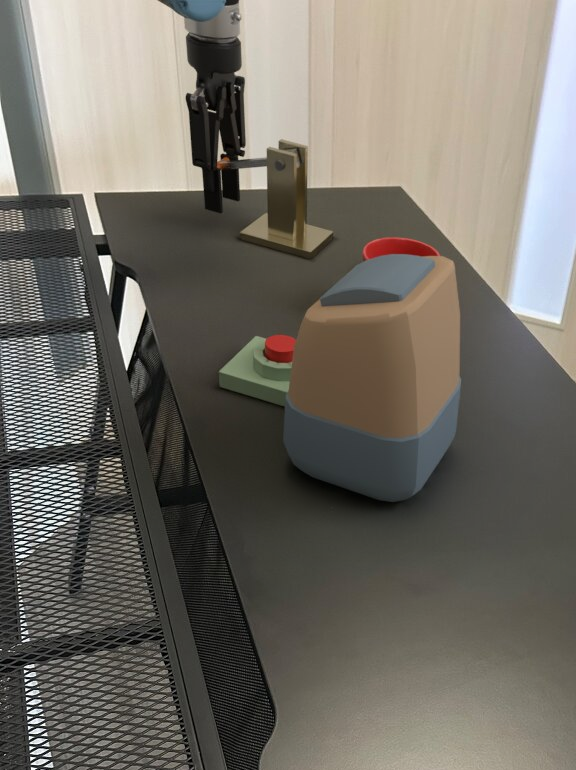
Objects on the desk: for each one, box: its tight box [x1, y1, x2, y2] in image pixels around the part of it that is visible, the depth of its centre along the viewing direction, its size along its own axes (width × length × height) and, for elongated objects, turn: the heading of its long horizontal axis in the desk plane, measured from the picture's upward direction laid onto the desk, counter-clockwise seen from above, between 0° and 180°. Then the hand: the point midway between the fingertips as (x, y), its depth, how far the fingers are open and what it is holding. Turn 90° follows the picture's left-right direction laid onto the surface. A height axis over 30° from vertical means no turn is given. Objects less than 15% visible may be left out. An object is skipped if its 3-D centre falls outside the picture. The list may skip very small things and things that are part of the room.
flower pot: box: [361, 236, 441, 262], centre depth 120 cm, size 11×11×10 cm
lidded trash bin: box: [282, 254, 462, 503], centre depth 91 cm, size 17×17×23 cm
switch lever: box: [217, 149, 301, 170], centre depth 130 cm, size 14×5×2 cm, turn 72°
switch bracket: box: [239, 138, 334, 260], centre depth 132 cm, size 12×9×14 cm
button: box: [265, 334, 296, 363], centre depth 105 cm, size 4×4×2 cm
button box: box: [218, 335, 292, 408], centre depth 107 cm, size 12×10×4 cm
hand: (222, 204), depth 136 cm, fingers closed on switch lever, 5 cm apart
